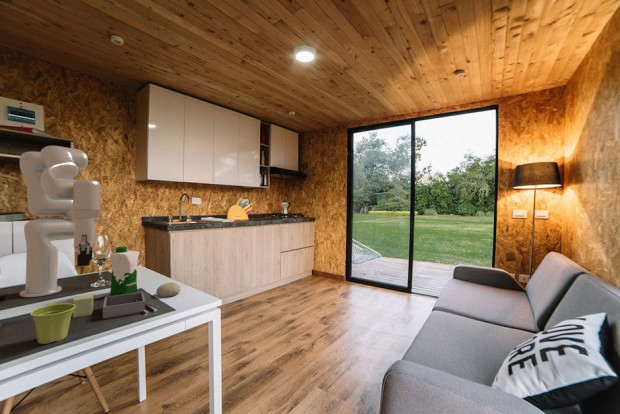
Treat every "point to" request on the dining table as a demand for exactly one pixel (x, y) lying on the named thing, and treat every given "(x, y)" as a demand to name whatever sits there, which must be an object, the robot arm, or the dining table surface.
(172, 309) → the dining table surface
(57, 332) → the plant pot
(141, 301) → the tray
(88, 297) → the olive block
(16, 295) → the dining table surface
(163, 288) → the sea urchin shell
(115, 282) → the milk carton
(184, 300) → the dining table surface
